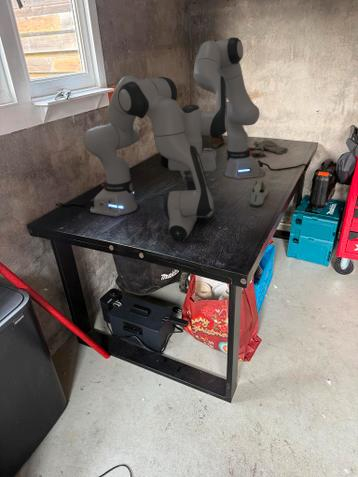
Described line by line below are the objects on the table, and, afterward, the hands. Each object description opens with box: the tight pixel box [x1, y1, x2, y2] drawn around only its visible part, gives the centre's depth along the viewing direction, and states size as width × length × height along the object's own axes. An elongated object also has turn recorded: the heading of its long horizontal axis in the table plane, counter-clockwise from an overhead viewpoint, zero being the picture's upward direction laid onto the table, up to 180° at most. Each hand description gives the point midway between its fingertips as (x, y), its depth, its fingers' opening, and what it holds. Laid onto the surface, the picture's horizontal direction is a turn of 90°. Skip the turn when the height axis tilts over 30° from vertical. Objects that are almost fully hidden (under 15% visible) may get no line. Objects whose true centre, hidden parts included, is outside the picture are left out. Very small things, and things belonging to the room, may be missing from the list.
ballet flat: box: [249, 179, 269, 207], centre depth 158 cm, size 8×24×8 cm, turn 163°
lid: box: [185, 173, 194, 182], centre depth 141 cm, size 6×6×2 cm
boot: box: [211, 135, 225, 149], centre depth 246 cm, size 9×24×20 cm, turn 168°
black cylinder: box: [186, 180, 196, 190], centre depth 145 cm, size 5×5×17 cm
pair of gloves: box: [247, 139, 289, 158], centre depth 226 cm, size 30×26×5 cm
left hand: (193, 201), depth 148 cm, fingers closed on black cylinder, 5 cm apart
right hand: (192, 180), depth 142 cm, fingers closed on lid, 5 cm apart
